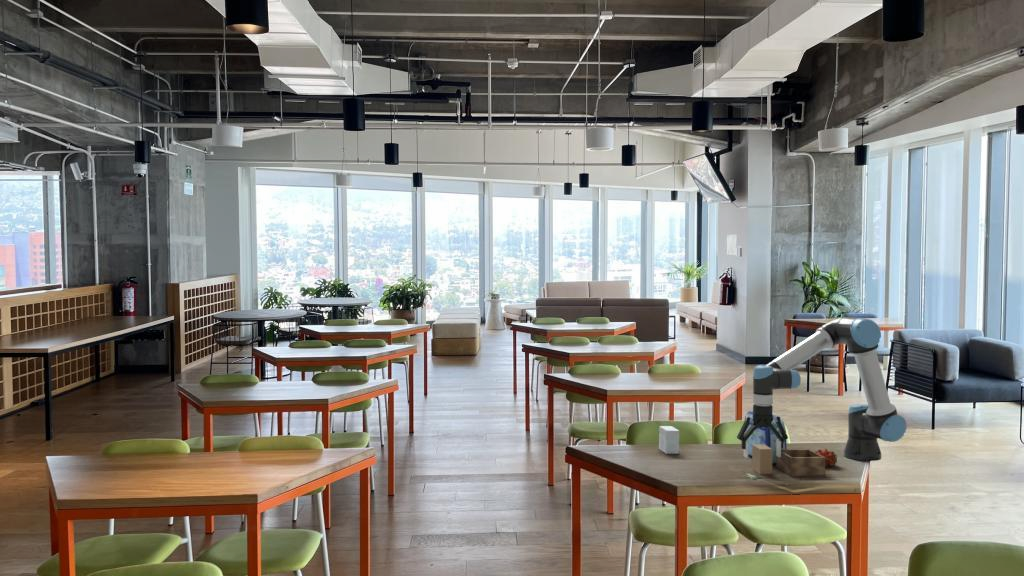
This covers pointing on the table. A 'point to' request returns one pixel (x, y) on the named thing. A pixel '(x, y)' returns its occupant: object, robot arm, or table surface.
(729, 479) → the table surface
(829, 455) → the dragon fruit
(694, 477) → the table surface
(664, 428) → the skincare box
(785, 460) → the box
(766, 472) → the lid
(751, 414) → the lunch box
